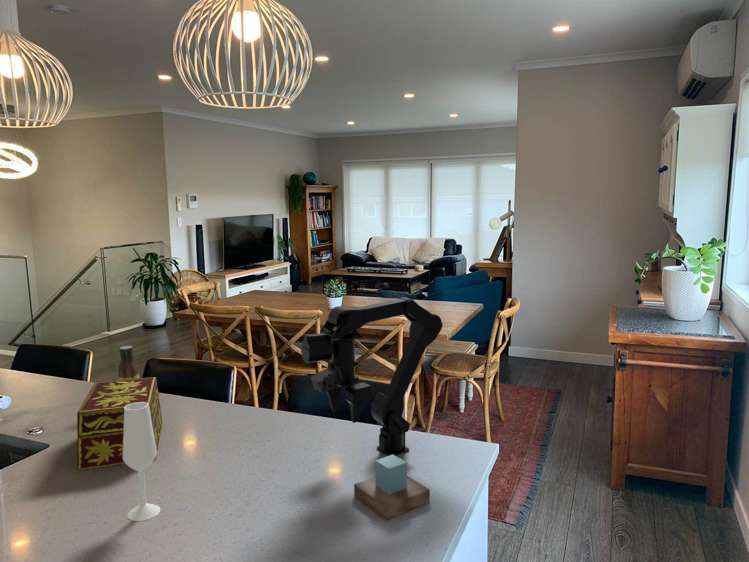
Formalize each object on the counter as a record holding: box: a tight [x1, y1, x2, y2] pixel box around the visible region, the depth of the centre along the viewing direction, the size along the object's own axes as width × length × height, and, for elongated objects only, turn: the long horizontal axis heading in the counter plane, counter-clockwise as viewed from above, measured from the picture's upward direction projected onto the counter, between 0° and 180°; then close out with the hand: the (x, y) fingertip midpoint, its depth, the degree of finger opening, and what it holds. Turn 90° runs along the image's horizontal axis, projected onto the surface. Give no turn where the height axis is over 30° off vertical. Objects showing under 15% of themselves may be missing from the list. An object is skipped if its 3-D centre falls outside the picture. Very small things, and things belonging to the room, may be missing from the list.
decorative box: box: [76, 376, 163, 471], centre depth 156 cm, size 28×19×15 cm
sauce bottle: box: [118, 345, 140, 381], centre depth 186 cm, size 7×6×20 cm
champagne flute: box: [123, 402, 161, 522], centre depth 120 cm, size 7×7×24 cm
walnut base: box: [353, 475, 431, 521], centre depth 126 cm, size 12×12×3 cm
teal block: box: [374, 455, 408, 495], centre depth 125 cm, size 5×5×6 cm
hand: (344, 416), depth 143 cm, fingers open, 9 cm apart
